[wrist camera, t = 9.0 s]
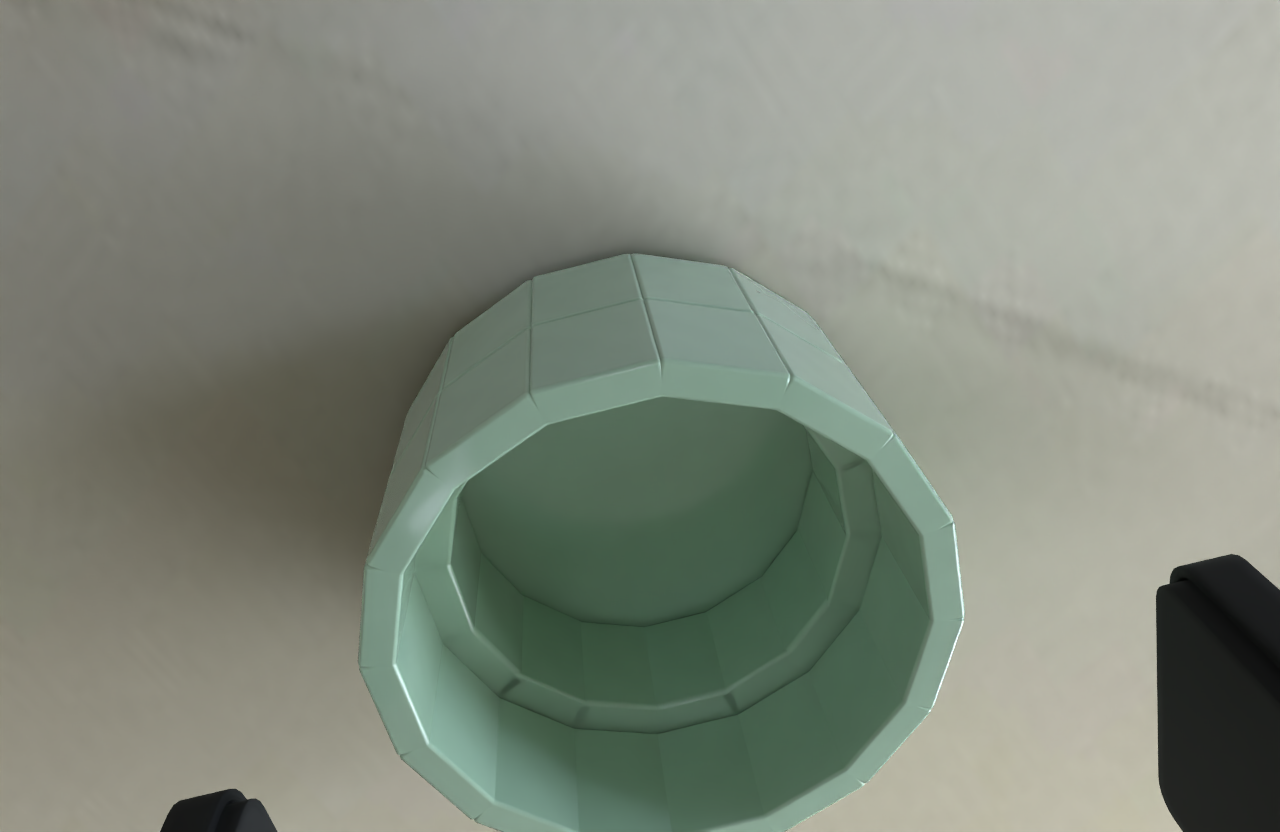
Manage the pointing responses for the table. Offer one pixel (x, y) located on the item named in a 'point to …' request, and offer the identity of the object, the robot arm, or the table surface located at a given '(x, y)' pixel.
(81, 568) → the table surface
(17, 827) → the table surface
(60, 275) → the table surface
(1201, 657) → the robot arm
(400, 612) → the bowl
